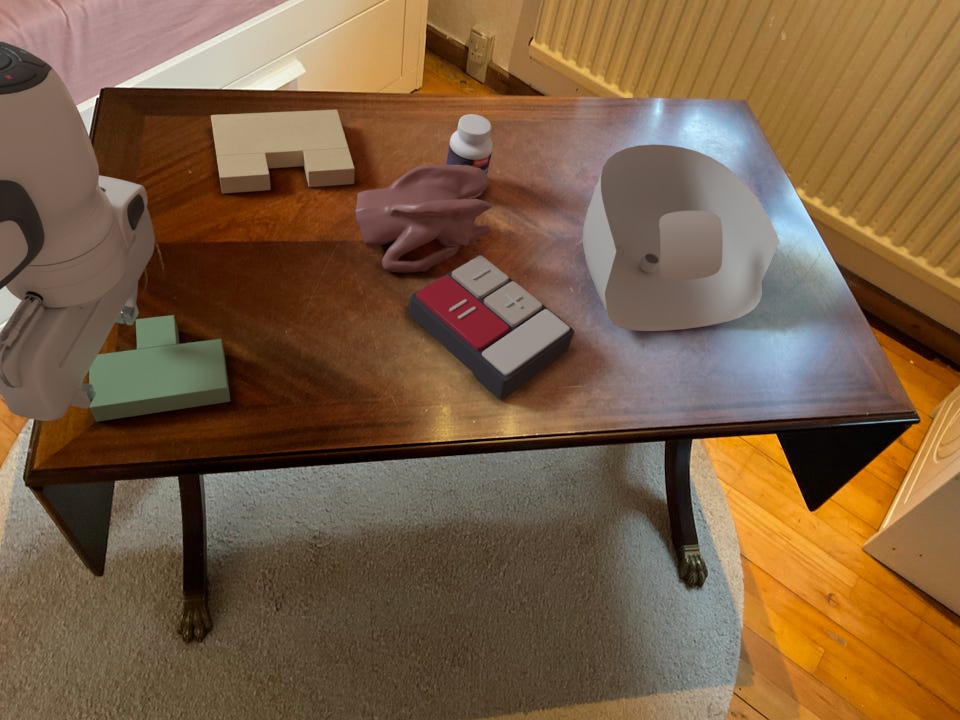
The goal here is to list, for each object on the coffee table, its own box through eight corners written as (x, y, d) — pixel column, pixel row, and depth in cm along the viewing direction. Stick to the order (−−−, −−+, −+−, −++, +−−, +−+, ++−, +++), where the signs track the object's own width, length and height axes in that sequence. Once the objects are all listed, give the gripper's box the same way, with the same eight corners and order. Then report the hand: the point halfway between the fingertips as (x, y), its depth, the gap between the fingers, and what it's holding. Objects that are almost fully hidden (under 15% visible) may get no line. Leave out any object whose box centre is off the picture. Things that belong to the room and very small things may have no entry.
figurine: (388, 297, 89) (508, 267, 85) (349, 239, 81) (478, 203, 77) (394, 227, 96) (504, 196, 92) (358, 168, 88) (476, 131, 84)
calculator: (481, 248, 85) (578, 325, 79) (476, 275, 89) (569, 351, 83) (408, 291, 80) (507, 377, 74) (406, 317, 83) (501, 402, 77)
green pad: (96, 422, 69) (89, 407, 67) (95, 340, 74) (89, 324, 72) (230, 401, 73) (227, 387, 71) (220, 324, 78) (217, 309, 76)
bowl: (689, 215, 101) (726, 143, 91) (749, 324, 90) (797, 256, 81) (551, 220, 95) (575, 145, 86) (597, 337, 85) (629, 266, 75)
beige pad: (222, 193, 89) (219, 177, 87) (213, 131, 96) (210, 114, 94) (354, 184, 94) (354, 168, 92) (337, 125, 100) (337, 109, 98)
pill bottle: (471, 206, 95) (483, 143, 87) (435, 188, 96) (444, 124, 88) (491, 184, 98) (504, 122, 90) (456, 167, 99) (467, 104, 91)
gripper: (36, 366, 50) (91, 464, 61) (153, 174, 62) (181, 284, 73) (-59, 349, 50) (13, 450, 61) (77, 159, 62) (117, 272, 73)
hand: (106, 358), depth 67 cm, fingers open, 8 cm apart
